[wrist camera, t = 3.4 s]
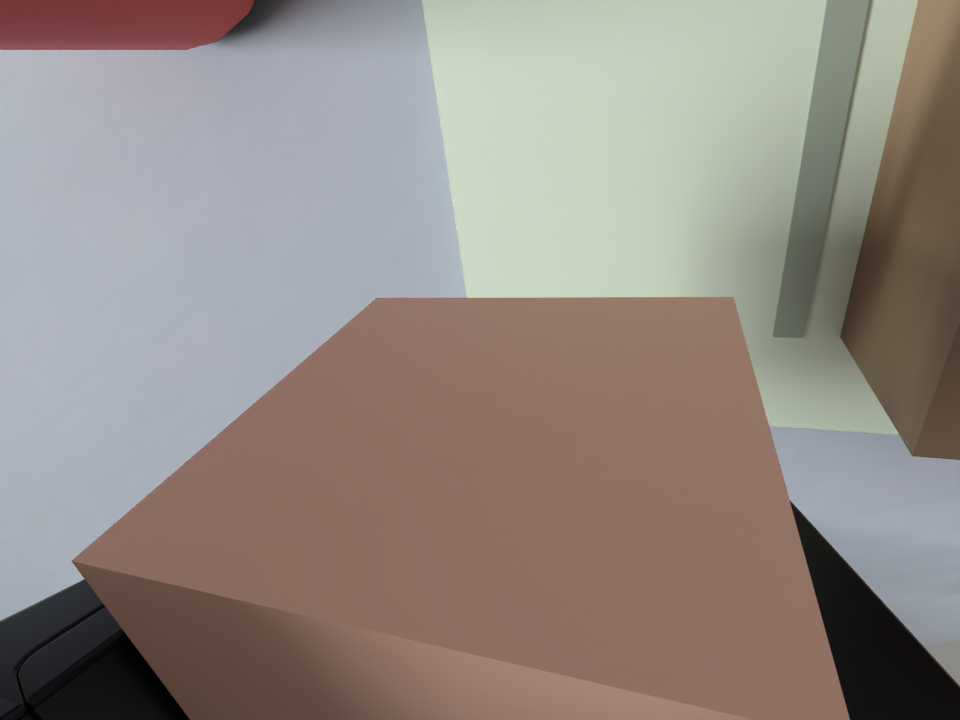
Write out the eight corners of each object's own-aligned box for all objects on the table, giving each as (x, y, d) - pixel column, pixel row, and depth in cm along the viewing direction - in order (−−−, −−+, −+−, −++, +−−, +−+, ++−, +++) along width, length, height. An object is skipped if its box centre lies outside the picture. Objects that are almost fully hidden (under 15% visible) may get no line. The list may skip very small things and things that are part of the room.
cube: (701, 568, 9) (733, 1024, 5) (432, 528, 10) (280, 840, 6) (733, 296, 6) (857, 744, 2) (376, 298, 8) (72, 560, 4)
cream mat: (1229, 434, 11) (1269, 462, 10) (491, 391, 16) (483, 407, 15) (2088, -776, 4) (2366, -938, 4) (408, -197, 10) (387, -218, 9)
